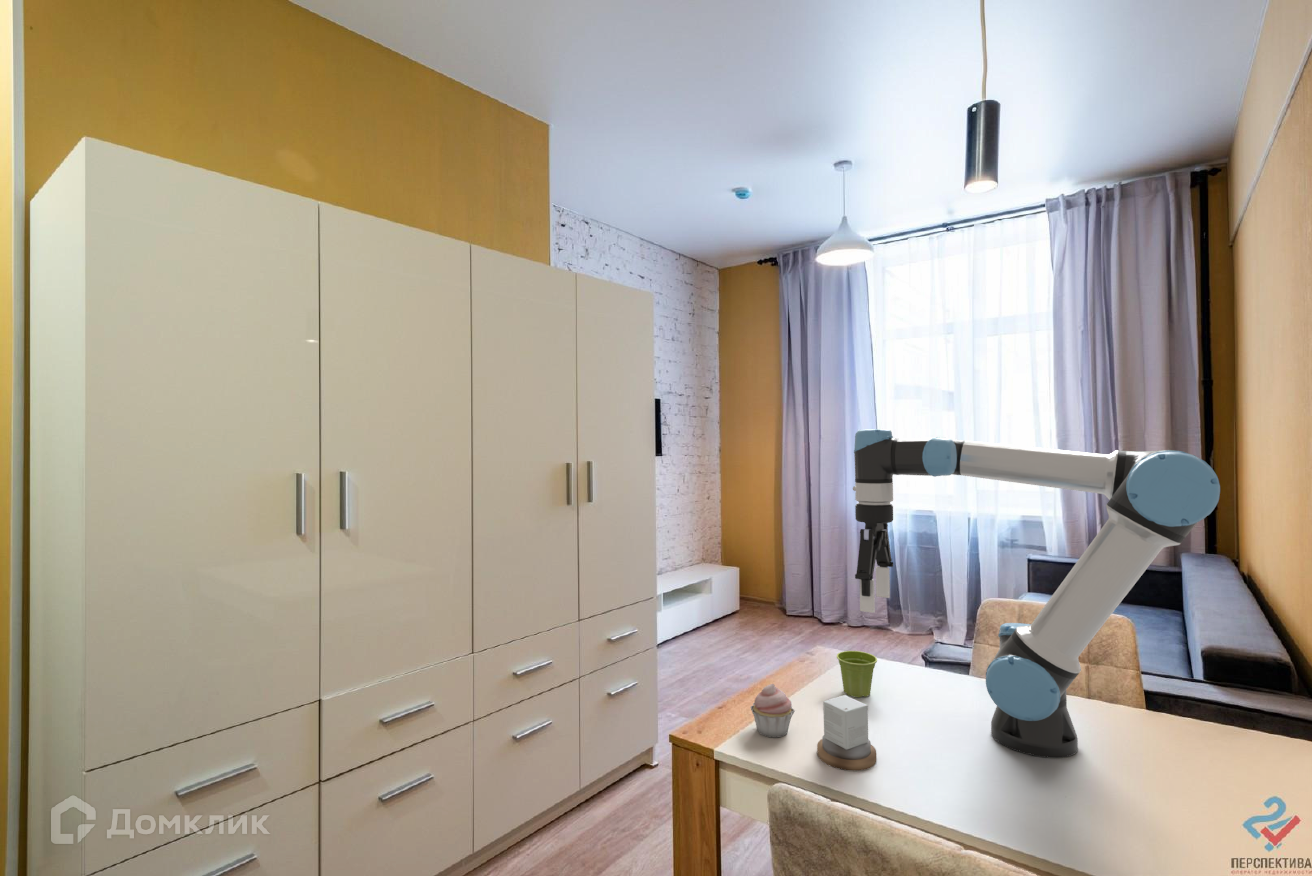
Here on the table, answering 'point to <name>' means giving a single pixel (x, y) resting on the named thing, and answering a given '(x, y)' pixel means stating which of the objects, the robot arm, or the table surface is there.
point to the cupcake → (772, 712)
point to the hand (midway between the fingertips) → (875, 604)
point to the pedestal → (846, 755)
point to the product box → (845, 722)
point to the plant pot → (856, 672)
